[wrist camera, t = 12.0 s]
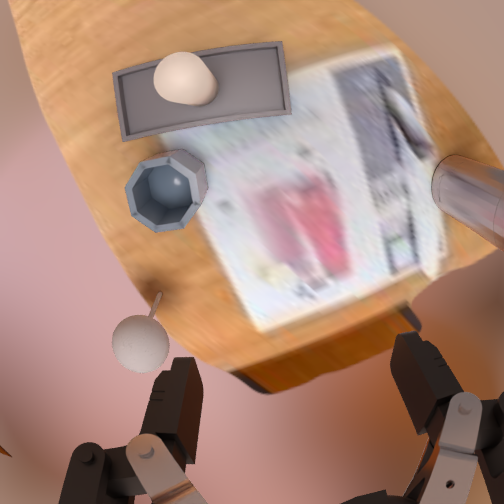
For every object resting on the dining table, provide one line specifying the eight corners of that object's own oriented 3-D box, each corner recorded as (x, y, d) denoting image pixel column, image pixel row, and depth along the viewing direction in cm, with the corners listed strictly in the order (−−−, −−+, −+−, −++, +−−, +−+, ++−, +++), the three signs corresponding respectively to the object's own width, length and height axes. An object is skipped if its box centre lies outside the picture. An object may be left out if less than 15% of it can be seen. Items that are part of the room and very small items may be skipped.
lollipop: (131, 277, 43) (93, 343, 30) (174, 268, 43) (148, 337, 29) (147, 315, 46) (121, 385, 33) (189, 308, 46) (172, 383, 32)
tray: (279, 45, 31) (282, 41, 28) (288, 114, 35) (291, 114, 32) (119, 74, 31) (112, 72, 29) (129, 140, 35) (122, 142, 33)
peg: (216, 68, 31) (203, 47, 20) (221, 103, 33) (210, 97, 22) (179, 75, 31) (150, 58, 20) (184, 109, 33) (157, 107, 22)
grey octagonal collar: (201, 145, 36) (191, 152, 30) (211, 206, 39) (204, 225, 33) (140, 157, 36) (120, 166, 30) (152, 215, 40) (136, 235, 33)
